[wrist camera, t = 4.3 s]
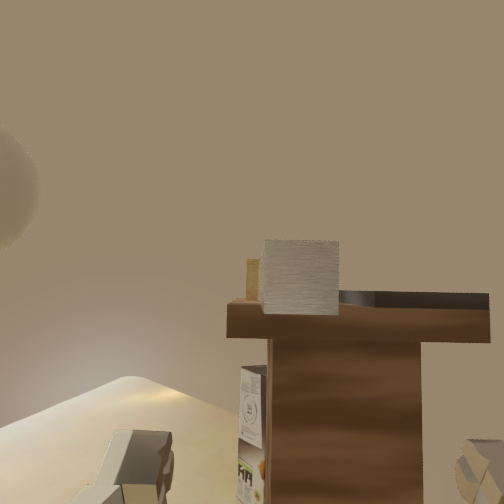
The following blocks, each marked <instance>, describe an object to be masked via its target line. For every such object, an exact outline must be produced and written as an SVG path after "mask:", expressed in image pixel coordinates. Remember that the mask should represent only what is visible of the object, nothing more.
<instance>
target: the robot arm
mask: <svg viewBox="0 0 504 504" xmlns="http://www.w3.org/2000/svg"><path fill="white" fill-rule="evenodd" d="M39 202H40V182H39V177H38V173H37V170H36V167H35V165H34V162H33V160H32V159H31V157H30V155H29V154H28V152H27V151H26V149H25V148H24V146H23V145H22V144H21V143H20V142H19V141H18V140H17V139H16V138H15V137H14V136H13V135H12V134H11V133H9V132H8V131H7V130H6V129H5V128H4V127H3V126H2V125H1V123H0V249H5V248H7V247H9V246H10V245H12V244H13V243H15V241H17V240H18V239H19V238H20V237H21V236H22V235H23V234H24V233H25V232H26V231H27V229H28V228H29V226H30V225H31V223H32V221H33V219H34V218H35V215H36V212H37V210H38V206H39ZM171 445H172V434H171V432H165V431H147V430H124V429H117V430H116V431H115V432H114V434H113V436H112V438H111V441H110V443H109V446H108V448H107V451H106V453H105V456H104V458H103V461H102V464H101V466H100V469H99V471H98V474H97V476H96V479H95V481H94V484H87V485H86V486H85V487H84V488H83V489H82V490H81V491H80V492H78V493H77V494H76V495H75V496H74V497H73V498H72V499H71V500H70V501H68V502H67V503H66V504H167V501H166V493H167V492H168V491H169V490H170V488H171V483H172V477H173V468H174V454H173V451H172V450H171ZM461 450H462V452H463V454H464V455H463V456H462V457H460V458H459V459H458V460H457V462H456V465H455V480H456V484H457V487H458V490H459V492H460V494H461V496H462V498H463V499H464V500H466V501H467V502H468V503H469V504H504V440H503V441H502V440H473V439H471V440H470V439H469V440H468V439H467V440H466V441H464V442H463V444H462V447H461Z"/></svg>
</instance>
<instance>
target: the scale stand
mask: <svg viewBox="0 0 504 504" xmlns="http://www.w3.org/2000/svg"><path fill="white" fill-rule="evenodd" d="M489 311H490V310H489V294H487V293H486V294H485V293H439V292H438V293H437V292H391V291H339V315H299V314H264V313H263V311H262V308H261V306H260V304H259V302H258V301H246V299H238V298H237V299H235V300H234V301H232V302H231V303H229V304H228V305H227V336H226V337H227V338H260V339H267V394H266V455H265V504H423V458H422V457H423V455H422V454H423V453H422V396H421V395H422V394H421V344H420V343H421V342H454V343H491V341H490V312H489Z"/></svg>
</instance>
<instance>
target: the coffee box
mask: <svg viewBox="0 0 504 504" xmlns="http://www.w3.org/2000/svg"><path fill="white" fill-rule="evenodd" d="M266 394H267V365H258V366H242V367H241V387H240V416H239V442H238V469H237V497H238V498H239V499H240V500H241V501H242V502H243V503H244V504H265V455H266Z"/></svg>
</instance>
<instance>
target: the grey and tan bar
mask: <svg viewBox="0 0 504 504" xmlns="http://www.w3.org/2000/svg"><path fill="white" fill-rule="evenodd" d="M246 278H247V279H246V301H258V302H259V304H260V306H261V308H262V311H263V313H264V314H299V315H339V241H307V240H265V243H264V247H263V251H262V254H261V258H260V259H258V260H257V259H247V276H246Z"/></svg>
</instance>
